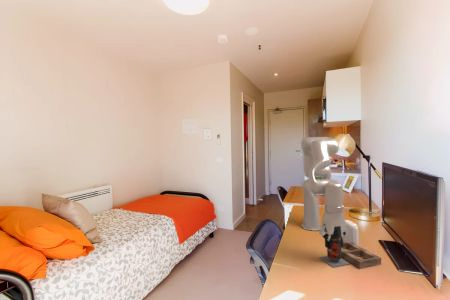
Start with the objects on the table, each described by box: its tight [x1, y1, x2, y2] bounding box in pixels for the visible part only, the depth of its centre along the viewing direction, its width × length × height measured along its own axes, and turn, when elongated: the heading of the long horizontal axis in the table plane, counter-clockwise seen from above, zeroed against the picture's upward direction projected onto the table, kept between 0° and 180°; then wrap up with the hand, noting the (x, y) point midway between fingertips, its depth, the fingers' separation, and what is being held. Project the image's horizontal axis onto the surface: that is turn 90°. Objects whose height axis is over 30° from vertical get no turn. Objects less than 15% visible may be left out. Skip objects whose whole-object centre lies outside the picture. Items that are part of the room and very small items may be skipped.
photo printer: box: [343, 219, 360, 247], centre depth 122 cm, size 10×4×12 cm, turn 14°
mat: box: [319, 255, 351, 269], centre depth 104 cm, size 9×9×1 cm
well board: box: [341, 241, 382, 269], centre depth 107 cm, size 18×12×3 cm, turn 15°
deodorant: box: [326, 226, 342, 260], centre depth 104 cm, size 6×6×15 cm
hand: (333, 246), depth 104 cm, fingers closed on deodorant, 5 cm apart
